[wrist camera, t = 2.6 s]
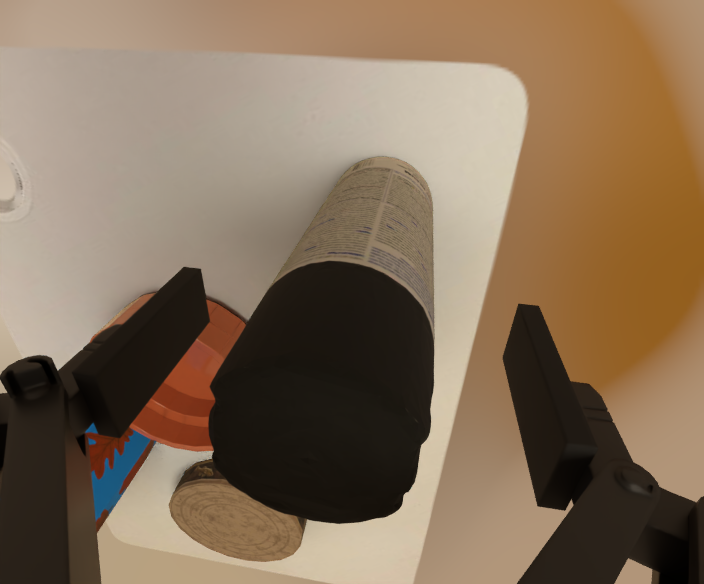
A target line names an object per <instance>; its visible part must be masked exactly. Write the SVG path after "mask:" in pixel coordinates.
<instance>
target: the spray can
mask: <svg viewBox="0 0 704 584" xmlns="http://www.w3.org/2000/svg"><path fill="white" fill-rule="evenodd" d="M433 388H434V277H433V204H432V197H431V193H430V190H429V187H428V185H427V183H426V181H425V180H424V178H423V177H422V176H421V175H420V173H419V172H418V171H417V170H416V169H415V168H413V167H412V166H410V165H409V164H407V163H406V162H403V161H401V160H398V159H395V158H389V157H375V158H369V159H366V160H363V161H361V162H359V163H357V164H355V165H354V166H352V167H351V168H350V169H348V170H347V171H346V172H345V173H344V174H343V176H342V177H341V178H340V180H339V181H338V183H337V184H336V186H335V187H334V189H333V190H332V192H331V193H330V194H329V196H328V198H327V200H326V201H325V203H324V204H323V205H322V207H321V209H320V210H319V212H318V213H317V215H316V217H315V218H314V220H313V221H312V223H311V224H310V226H309V227H308V229H307V231H306V232H305V234H304V235H303V237H302V238H301V240H300V241H299V243H298V244H297V246H296V247H295V249H294V250H293V252H292V254H291V255H290V257H289V258H288V260H287V261H286V263H285V264H284V266H283V267H282V269H281V270H280V272H279V274H278V275H277V277H276V278H275V280H274V281H273V283H272V285H271V286H270V288H269V289H268V291H267V292H266V294H265V296H264V297H263V299H262V300H261V302H260V304H259V305H258V307H257V308H256V310H255V311H254V313H253V315H252V316H251V318H250V320H249V321H248V323H247V324H246V326H245V328H244V330H243V331H242V333H241V334H240V336H239V338H238V339H237V341H236V342H235V344H234V346H233V347H232V349H231V350H230V352H229V353H228V355H227V357H226V358H225V360H224V362H223V363H222V365H221V366H220V368H219V369H218V371H217V373H216V375H215V377H214V378H213V380H212V382H211V384H210V389H211V391H212V394H213V396H214V398H215V403H214V405H213V407H212V408H211V410H210V414H209V420H208V430H209V437H210V441H211V444H212V447H213V450H214V452H213V455H212V459H213V463H214V468H215V469H216V470H217V471H218V472H219V473H220V474H221V475H223V476H224V477H225V478H226V479H227V481H228V483H229V484H231V485H232V486H234V487H235V488H237V489H238V490H239V491H241V492H243V493H245V494H246V495H248V496H249V497H250V498H252V499H253V500H255V501H258V502H260V503H262V504H263V505H265V506H266V507H268V508H271V509H273V510H276V511H278V512H281V513H283V514H288V515H294V516H297V517H301V518H305V519H308V520H312V521H319V522H327V523H336V524H342V523H356V522H363V521H367V520H371V519H375V518H383V517H387V516H389V515H391V514H393V513H395V512H396V511H397V510H398V509H399V508H400V507H401V506H402V502H403V496H404V494H405V493H406V492H409V490H410V489H411V487H412V485H413V484H414V482H415V478H416V474H417V469H418V462H419V454H420V448H421V445H422V444H423V443H424V442H425V441H426V440H427V438H428V436H429V433H430V427H431V414H430V407H431V398H432V394H433Z"/></svg>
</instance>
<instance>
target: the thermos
mask: <svg viewBox="0 0 704 584" xmlns="http://www.w3.org/2000/svg"><path fill="white" fill-rule="evenodd" d="M86 435H87V437H88V441H89V452H90V463H91V474H92V485H93V497H94V508H95V519H96V530H97V532H98V531H99V529H100V527H101V526H102V525H103V523H104V522H105V520H106V519H107V517H108V516H109V514H110V513H111V511H112V510H113V508H114V507H115V505H116V504H117V502H118V501H119V499H120V498H121V496H122V495H123V493H124V492H125V490H126V489H127V487H128V485H129V484H130V482H131V481H132V479H133V478H134V476H135V475H136V473H137V472H138V470H139V469H140V467H141V466H142V464H143V463H144V461H145V460H146V458H147V456H148V454H149V453H150V451H151V449H152V448H153V446H154V444H155V442H156V441H154V440H151V439H149V438H147V437H145V436H143V435H142V434H140V433H138V432H136V431H135V430H133V429H131V428H128V429H127V430H126V432H125V433H124V434H123V435H122V437H121V438H115V437H109V436H102V435H99V434H98V432H97V430H96V428H95V425H94V423H93V424H92V425H91V426H90V427H89V428H88V429H87V430H86Z"/></svg>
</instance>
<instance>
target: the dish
mask: <svg viewBox="0 0 704 584" xmlns="http://www.w3.org/2000/svg"><path fill="white" fill-rule="evenodd" d="M154 294H156V293H152V294H147V295H142V296H141V297H139V298H138V299H136V300H135V301H133V302H132V303H130V304H129V305H127V306H126V307H125V308H124V309H123V310H122V311H121V312H119V313H118V314H117V315H116V316H115V317H114V318H113V319H112V320H111V321H109V322H108V323H107V324H106V325H105V326H104V327H103V328H102V329H101V330H100V331H98V332H97V333H96V334H95V335H94V336H93V337H92V339H91V341H90V343H91V342H92V340H93V339H94V338H95V337H96V336H97V335H98V334H100V333H101V332H102V331H104V330H105V329H107V328H109V327H111V326H113V325H115V324H121V325H122V324H124V323H125V322H126V321H127V320H128V319H129V318H130V317H131V316H132V315H133V314H134V313H135V312H136V311H137V310H138V309H140V308H141V307H142V306H143V305H144V304H145V303H146V302H147V301H148V300H149V299H150V298H151V297H152V296H153V295H154ZM206 300H207V299H206ZM207 306H208V312H209V317H210V322H209V324H208V325H207V326H206V327H205V329H204V330H203V331H202V333H201V334H200V335H199V337H198V338H197V339H196V340H195V342H194V343H193V344H192V346H191V347H190V348H189V350H188V351H187V352H186V353H185V355H184V356H183V357H182V359H181V360H180V361H179V363H178V364H177V365H176V366H175V368H174V369H173V370H172V372H171V373H170V374H169V376H168V377H167V378H166V379H165V381H164V382H163V383H162V385H161V386H160V387H159V389H158V390H157V391H156V392H155V394H154V395H153V396H152V398H151V399H150V400H149V402H148V403H147V404H146V405H145V407H144V408H143V409H142V411H141V412H140V413H139V415H138V416H137V417H136V418H135V420H134V421H133V422H132V424H131V425H130V426H129V428H131V429H133V430H135V431H136V432H138V433H140V434H142V435H143V436H145V437H147V438H149V439H151V440H154V441H156V442H159V443H162V444H165V445H167V446H170V447H173V448H178V449H185V450H191V451H197V452H198V451H214V450H213V447H212V444H211V441H210V437H209V430H208V420H209V414H210V410H211V408H212V407H213V405H214V403H215V398H214V396H213V394H212V391H211V389H210V384H211V382H212V380H213V378H214V377H215V375H216V373H217V371H218V369H219V368H220V366H221V365H222V363H223V362H224V360H225V358H226V357H227V355H228V353H229V352H230V350H231V349H232V347H233V346H234V344H235V342H236V341H237V339H238V338H239V336H240V334H241V333H242V331H243V330H244V328H245V326H246V324H245V323H244V322H243V321H241V319H239V318H238V317H237V316H235V315H234V314H232V313H231V312H229V311H228V310H226V309H225V308H223V307H222V306H220V305H218V304H217V303H214V302H212V301H209V300H207Z"/></svg>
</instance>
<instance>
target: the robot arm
mask: <svg viewBox="0 0 704 584" xmlns="http://www.w3.org/2000/svg"><path fill="white" fill-rule="evenodd" d="M209 322H210V317H209V312H208V306H207V300H206V295H205V289H204V284H203V278H202V273H201V269H198V268H189V267H183V268H182V269H181V270H180V271H179V272H178V273H177V274H176V275H175V276H174V277H173V278H172V279H170V280H169V281H168V282H167V283H166V284H165V285H164V286H163V287H162V288H161V289H160V290H159V291H158V292H157V293H156V294H154V295H153V296H152V297H151V298H150V299H149V300H148V301H147V302H146V303H145V304H144V305H143V306H142V307H141V308H140V309H138V310H137V311H136V312H135V313H134V314H133V315H132V316H131V317H130V318H129V319H128V320H127V321H126V322H125V323H124V324H122V325H121V324H115V325H113V326H111V327H109V328H107V329H105V330H104V331H102V332H101V333H100V334H98V335H97V336H96V337H95V338H94V339H93V340H92V342H91V343H88V344H87V345H86V346H85V347H84V348H83V350H81V351H80V352H78V353H77V354H76V355H75V356H74V357H73V358H72V359H71V360H70V361H68V362H67V363H66V364H65V365H64V366H63V367H62V368H61V369H59V370H58V371H57V369H56V367H55V364H54V362H53V360H52V358H50V357H48V356H41V355H37V356H31V357H27V358H24V359H21V360H18V361H16V362H15V363H13V364H11V365H9V366H8V367H7V368H6V369H5V370H4V371H3V372H2V373H1V375H0V380H1V382H2V384H3V385H4V387H5V389H6V391H7V393H2V394H0V584H101V575H100V564H99V553H98V542H97V530H96V519H95V508H94V497H93V485H92V474H91V463H90V452H89V441H88V437H87V435H86V430H87V429H88V428H89V427H90V426H91V425H92V424H93V423H94V425H95V428H96V430H97V432H98V434H99V435H102V436H109V437H115V438H121V437H122V435H123V434H124V433H125V432H126V430H127V429H128V428H129V426H130V425H131V424H132V422H133V421H134V420H135V418H136V417H137V416H138V415H139V413H140V412H141V411H142V409H143V408H144V407H145V405H146V404H147V403H148V402H149V400H150V399H151V398H152V396H153V395H154V394H155V392H156V391H157V390H158V389H159V387H160V386H161V385H162V383H163V382H164V381H165V379H166V378H167V377H168V376H169V374H170V373H171V372H172V370H173V369H174V368H175V366H176V365H177V364H178V363H179V361H180V360H181V359H182V357H183V356H184V355H185V353H186V352H187V351H188V350H189V348H190V347H191V346H192V344H193V343H194V342H195V340H196V339H197V338H198V337H199V335H200V334H201V333H202V331H203V330H204V329H205V327H206V326H207V325H208V324H209ZM503 362H504V366H505V370H506V374H507V379H508V383H509V387H510V392H511V396H512V400H513V404H514V409H515V413H516V417H517V421H518V425H519V430H520V434H521V438H522V442H523V447H524V451H525V455H526V459H527V463H528V468H529V472H530V476H531V480H532V485H533V489H534V493H535V498H536V502H537V506H539V507H546V508H552V509H558V510H564V511H565V510H566V508H567V506H568V504H569V502H570V501H571V499H572V502H573V504H574V506H573V507H572V509H571V510H570V511H569V513H568V514H567V516H566V517H565V518H564V520H563V521H562V522H561V524H560V525H559V527H558V528H557V529H556V531H555V532H554V534H553V535H552V536H551V538H550V539H549V540H548V542H547V543H546V544H545V546H544V547H543V548H542V550H541V551H540V553H539V554H538V556H537V557H536V558H535V560H534V561H533V562H532V564H531V565H530V567H529V568H528V569H527V571H526V572H525V573H524V575H523V576H522V577H521V579H520V580H519V581H518V583H517V584H614V583H615V581H616V579H617V577H618V576H619V574H620V572H621V570H622V568H623V566H624V565H625V563H626V560H627V559H628V558H629V559H632V560H634V561H636V562H638V563H640V564H642V565H644V566H647V567H649V568H651V569H653V570H652V584H704V496H703V497H701V498H700V499H699V500H698V502H694V501H692V500H689V499H686V498H684V497H682V496H678V495H676V494H674V493H671V492H669V491H667V490H665V489H662V488H661V487H659V485H658V483H657V481H656V480H655V479H654V477H653V476H652V475H651V474H650V473H649V472H648V471H646V470H645V469H644V468H643V467H641V466H639V465H637V464H635V463H634V462H633V461H632V459H631V456H630V455H629V452H628V450H627V448H626V446H625V444H624V442H623V440H622V438H621V436H620V434H619V432H618V430H617V428H616V426H615V424H614V423H613V422H612V421H613V420H612V418H611V415H610V413H609V412H607V407H606V405H605V403H604V401H603V399H602V397H601V396H600V395H599V394H598V392H597V391H596V390H595V389H593V388H592V387H591V385H590V384H587V383H579V382H571V381H570V380H569V377H568V375H567V372H566V370H565V368H564V365H563V363H562V360H561V358H560V355H559V353H558V351H557V348H556V346H555V343H554V341H553V339H552V336H551V334H550V332H549V329H548V327H547V324H546V322H545V320H544V317H543V315H542V312H541V310H540V308H539V306H535V305H525V304H518V307H517V310H516V314H515V317H514V321H513V324H512V327H511V331H510V335H509V338H508V341H507V344H506V348H505V351H504V355H503Z"/></svg>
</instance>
